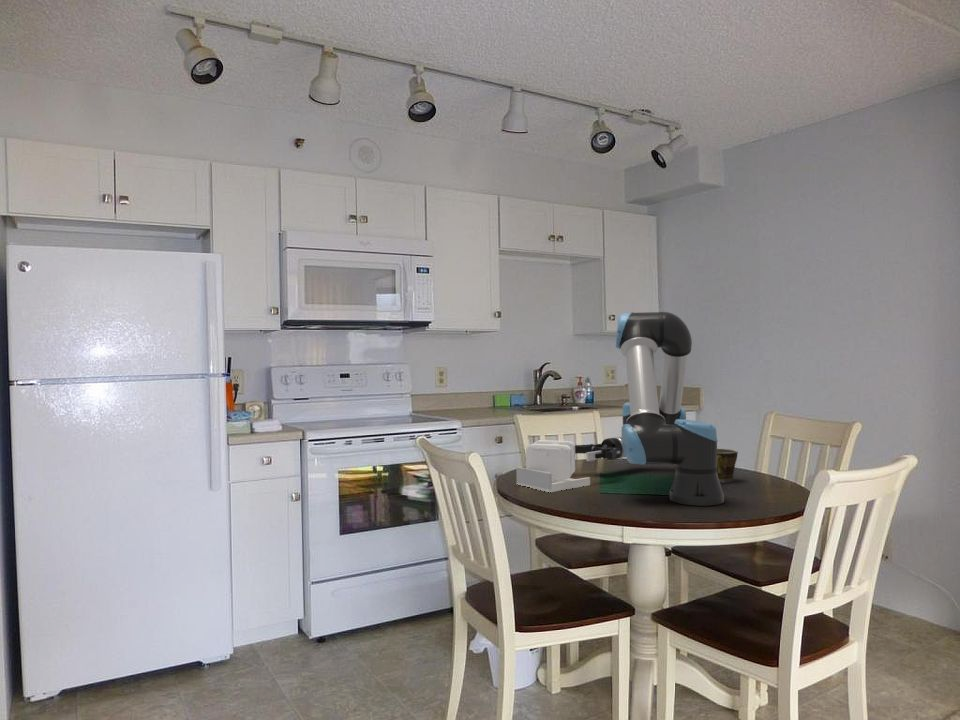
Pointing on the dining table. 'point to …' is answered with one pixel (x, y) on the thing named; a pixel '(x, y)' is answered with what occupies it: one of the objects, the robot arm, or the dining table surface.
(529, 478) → the tray
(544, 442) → the cable organizer
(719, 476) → the ceramic cup
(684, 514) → the dining table surface
